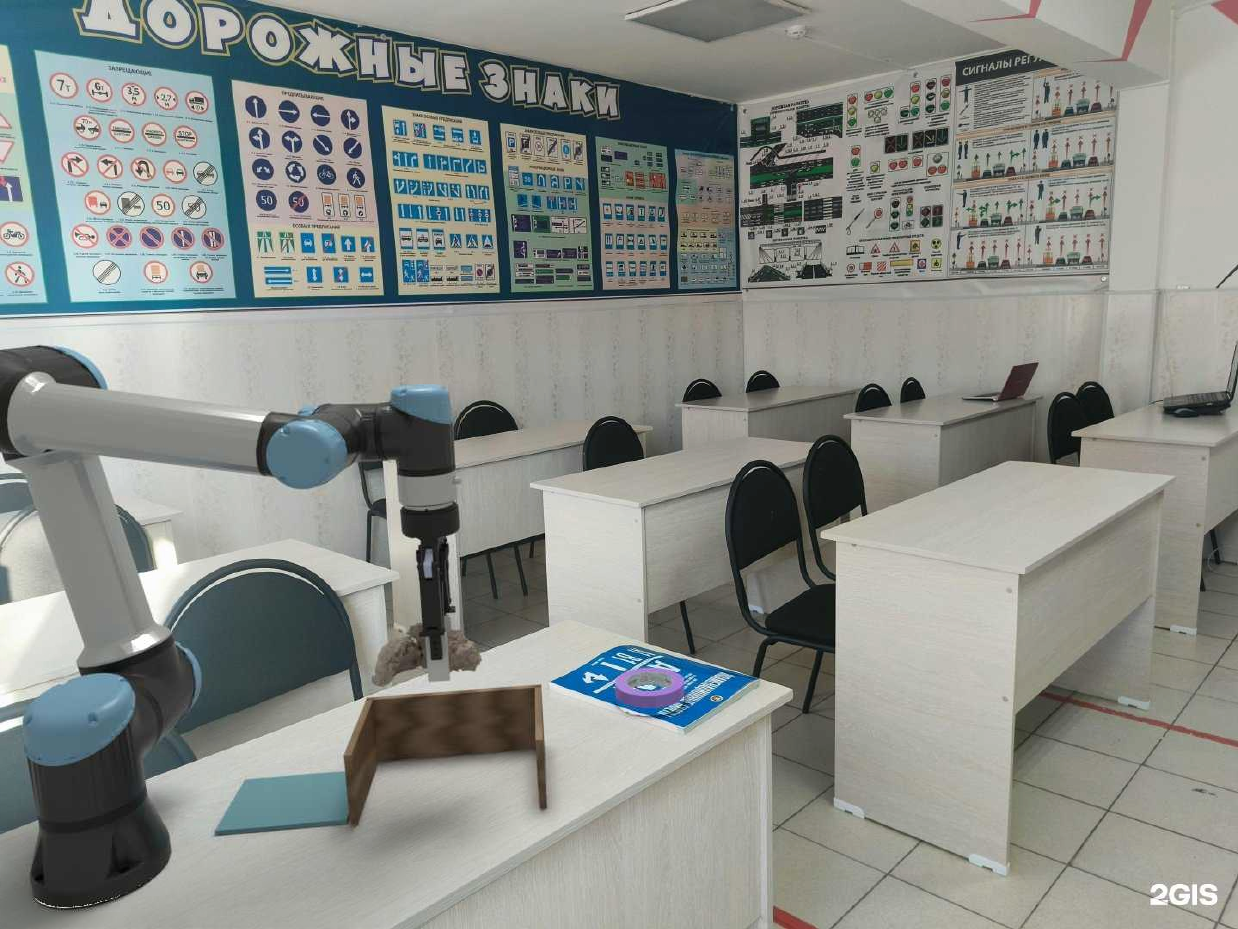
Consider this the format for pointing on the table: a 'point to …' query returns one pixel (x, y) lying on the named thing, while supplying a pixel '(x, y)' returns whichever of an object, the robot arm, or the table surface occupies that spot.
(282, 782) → the teal rubber mat
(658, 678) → the masking tape
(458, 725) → the walnut cubby
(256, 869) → the table surface
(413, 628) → the rock
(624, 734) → the table surface
